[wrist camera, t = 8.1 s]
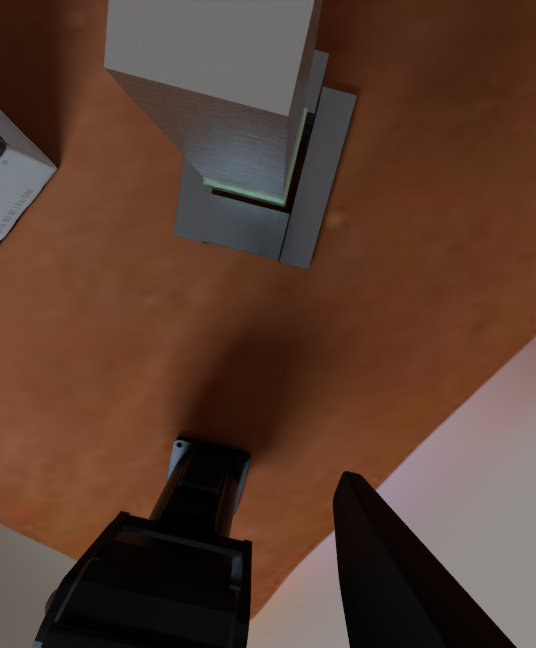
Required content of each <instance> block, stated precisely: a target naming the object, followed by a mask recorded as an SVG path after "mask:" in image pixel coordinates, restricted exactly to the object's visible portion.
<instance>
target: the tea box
mask: <svg viewBox="0 0 536 648" xmlns="http://www.w3.org/2000/svg"><path fill="white" fill-rule="evenodd" d="M56 171H57V167H56V166H55V165H54V164H53V163H52V162H51V161H50V159H49V158H48V157H47V156H46V155H45V154H44V153H43V152H42V151H41V150H40V149H39V148H38V147H37V146H36V145H35V144H34V143H33V142H32V141H31V140H30V139H29V138H27V137H26V136H25V135H24V134H23V133H22V132H21V131H20V130H19V129H18V128H17V127H16V125H15V124H14V123H13V122H12V121H11V120H10V119H9V118H8V117H7V116H6V115H5V114H4V113H3V112H2V111H1V110H0V241H1V240H2V239H3V238H4V237H5V236H6V234H7V233H8V232H9V231H10V229H11V228H12V226H13V225H14V223H15V222H16V220H17V219H18V218H19V216H20V215H21V214H22V213H23V211H24V210H25V209H26V208H27V207H28V206H29V205H30V204H31V203H32V201H33V200H34V199H35V198H36V197H37V195H38V194H39V193H40V191H41V190H42V188H43V186H44V185H45V184H46V183H47V182H48V181H49V180H50V178H51V177H52V176H53V175H54V173H55V172H56Z"/></svg>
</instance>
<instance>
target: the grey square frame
mask: <svg viewBox="0 0 536 648" xmlns="http://www.w3.org/2000/svg"><path fill="white" fill-rule="evenodd" d="M328 57H329V53H325V52H322V51H318V50H314V55H313V61H312V67H311V73H310V79H309V85H308V91H307V96H306V102H305V108H308V111H307V116H306V120H305V124H304V129H303V133H302V137H301V141H300V143H303V144H307V142H308V138H309V134H310V130H311V126H312V122H313V118H314V114H315V110H316V106H317V102H318V98H319V94H320V89H321V85H322V81H323V77H324V73H325V69H326V65H327V61H328ZM356 97H357V95H353V94H349V93H346V92H342V91H338V90H334V89H331V88H327V87H323V89H322V93H321V96H320V100H319V104H318V108H317V112H316V117H315V121H314V125H313V129H312V133H311V137H310V141H309V145H308V149H307V153H306V157H305V161H304V165H303V169H302V173H301V177H300V181H299V185H298V189H297V193H296V197H295V201H294V205H293V209H292V213H291V217H290V221H289V225H288V229H287V233H286V237H285V241H284V245H283V249H282V253H281V257H280V261H279V262H281V263H285V264H289V265H293V266H297V267H301V268H305V269H309V266H310V262H311V258H312V255H313V251H314V248H315V244H316V241H317V237H318V233H319V230H320V226H321V223H322V219H323V215H324V212H325V208H326V205H327V201H328V197H329V194H330V190H331V187H332V183H333V180H334V176H335V172H336V169H337V165H338V162H339V158H340V154H341V151H342V147H343V144H344V140H345V136H346V133H347V129H348V126H349V122H350V119H351V115H352V111H353V108H354V104H355V101H356ZM203 180H204V178H203V177H202V176H201V174H200V173H199V172H198V171H197V170H196V169H195V168H194V167H193V166H192V165H191V163H190V162H189V161H188V160H187V159H186V158H184V164H183V171H182V178H181V185H180V192H179V199H178V206H177V212H176V219H175V226H174V233H173V235H175V236H179V237H183V238H187V239H191V240H194V241H198V242H202V243H206V244H207V242H209V243H213V244H216V245H220V246H224V247H228V248H232V249H236V250H240V251H244V252H248V253H252V254H256V255H260V256H264V257H268V258H272V259H276V260H278V259H279V255H280V251H281V247H282V243H283V239H284V235H285V231H286V227H287V223H288V218H289V214H288V213H284V212H280V211H276V210H272V209H268V208H264V207H261V206H257V205H253V204H249V203H245V202H241V201H237V200H233V199H229V198H226V197H222V196H218V195H216V189H212V188H208V187H206V186H205V185H204V184H203Z"/></svg>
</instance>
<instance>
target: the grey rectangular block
mask: <svg viewBox="0 0 536 648" xmlns="http://www.w3.org/2000/svg"><path fill="white" fill-rule="evenodd" d="M322 2H323V0H109V4H108V18H107V32H106V46H105V60H104V68H105V69H106V70H107V72H108V73H109V74H110V75H111V76H112V77H113V78H114V79H115V80H116V81H117V83H118V84H119V85H120V86H121V87H122V88H123V89H124V90H125V91H126V93H127V94H128V95H129V96H130V97H131V98H132V99H133V100H134V101H135V103H136V104H137V105H138V106H139V107H140V108H141V109H142V110H143V111H144V112H145V114H146V115H147V116H148V117H149V118H150V119H151V120H152V121H153V122H154V124H155V125H156V126H157V127H158V128H159V129H160V130H161V131H162V132H163V134H164V135H165V136H166V137H167V138H168V139H169V140H170V141H171V142H172V143H173V145H174V146H175V147H176V148H177V149H178V150H179V151H180V152H181V153H182V155H183V156H184V157H185V158H186V159H187V160H188V161H189V162H190V163H191V165H192V166H193V167H194V168H195V169H196V170H197V171H198V172H199V173H200V174H201V176H202V177H203V178H204V180H203V184H204V185H205V186H206V187H208V188H212V189H216V190H219V191H223V192H227V193H231V194H235V195H239V196H243V197H247V198H251V199H254V200H258V201H262V202H266V203H270V204H274V205H278V206H282V207H285V203H286V199H287V195H288V191H289V186H290V182H291V178H292V174H293V170H294V166H295V162H296V157H297V153H298V149H299V145H300V141H301V137H302V133H303V129H304V124H305V120H306V116H307V111H308V108H305V102H306V96H307V91H308V85H309V79H310V73H311V67H312V61H313V55H314V49H315V43H316V37H317V31H318V25H319V19H320V14H321V8H322Z"/></svg>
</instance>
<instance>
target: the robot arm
mask: <svg viewBox="0 0 536 648" xmlns="http://www.w3.org/2000/svg"><path fill="white" fill-rule="evenodd" d="M178 442H179V443H182V444H179V443H178ZM242 458H246V459H242ZM249 463H250V454H249V453H247V452H244V451H239V450H235V449H231V448H227V447H223V446H218V445H214V444H210V443H206V442H202V441H197V440H193V439H189V438H185V437H178V438H176V440H175V442H174V444H173V450H172V455H171V461H170V466H169V472H168V477H167V483H166V485H165V487H164V489H163V491H162V493H161V495H160V497H159V499H158V501H157V503H156V505H155V507H154V509H153V511H152V513H151V515H150V517H149V519H146V518H142V517H137V516H133V515H130V513H128V512H124V511H121V512H120V513H119V514H118V515H117V517H116V518H115V519H114V520H113V521H112V522H111V523H110V524H109V525H108V526H107V527H106V528H105V530H104V531H103V532H102V533H101V534H100V536H99V537H98V538H97V539H96V540H95V541H94V543H93V544H92V545H91V546H90V547H89V549H88V550H87V551H86V552H85V553H84V555H83V556H82V557H81V558H80V559H79V560H78V562H77V563H76V564H75V565H74V567H73V568H72V569H71V570H70V571H69V572H68V574H67V575H66V576H65V577H64V578H63V580H62V582H61V583H60V585H59V587H58V588H57V589H56V590H55V591H54V592H53V593H52V594H51V596H50V598H49V599H48V601H47V603H46V605H45V617H44V620H43V622H42V624H41V626H40V628H39V631H38V634H37V636H36V638H35V641H34V644H33V647H32V648H246V646H247V638H248V630H249V619H250V603H251V563H252V541H249V540H245V539H244V541H241V540H237V539H232V538H229V536H230V530H231V524H232V519H233V515H234V514H235V513H236V511H237V507H238V504H239V500H240V496H241V493H242V489H243V485H244V482H245V478H246V474H247V471H248V467H249ZM333 514H334V526H335V538H336V551H337V563H338V574H339V583H340V590H341V596H342V602H343V607H344V614H345V620H346V625H347V632H348V638H349V644H350V648H517V647H516V646H515V645H514V644H513V643H512V642H511V641H510V639H508V637H507V636H506V635H505V634H504V633H503V632H502V631H501V630H500V628H499V627H498V626H497V625H496V624H495V623H494V622H493V621H492V620H491V618H490V617H489V616H488V615H487V614H486V613H485V612H484V611H483V610H482V609H481V607H480V606H479V605H478V604H477V603H476V602H475V601H474V600H473V598H472V597H471V596H470V595H469V594H468V593H467V592H466V591H465V590H464V588H463V587H462V586H461V585H460V584H459V583H458V582H457V581H456V580H455V578H454V577H453V576H452V575H451V574H450V573H449V572H448V571H447V570H446V569H445V567H444V566H443V565H442V564H441V563H440V562H439V561H438V560H437V559H436V557H435V556H434V555H433V554H432V553H431V552H430V551H429V550H428V549H427V547H426V546H425V545H424V544H423V543H422V542H421V541H420V540H419V539H418V537H417V536H416V535H415V534H414V533H413V532H412V531H411V530H410V529H409V527H408V526H407V525H406V524H405V523H404V522H403V521H402V520H401V519H400V517H399V516H398V515H397V514H396V513H395V512H394V511H393V510H392V509H391V507H390V506H389V505H388V504H387V503H386V502H385V501H384V500H383V499H382V497H381V496H380V495H379V494H378V493H377V492H376V491H375V490H374V489H373V487H372V486H371V485H370V484H369V483H368V482H367V481H366V480H365V479H364V478H363V477H362V476H361V475H360V474H358V473H353V472H349V471H345V472H343V474H342V476H341V478H340V481H339V483H338V486H337V489H336V491H335V494H334V497H333Z"/></svg>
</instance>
